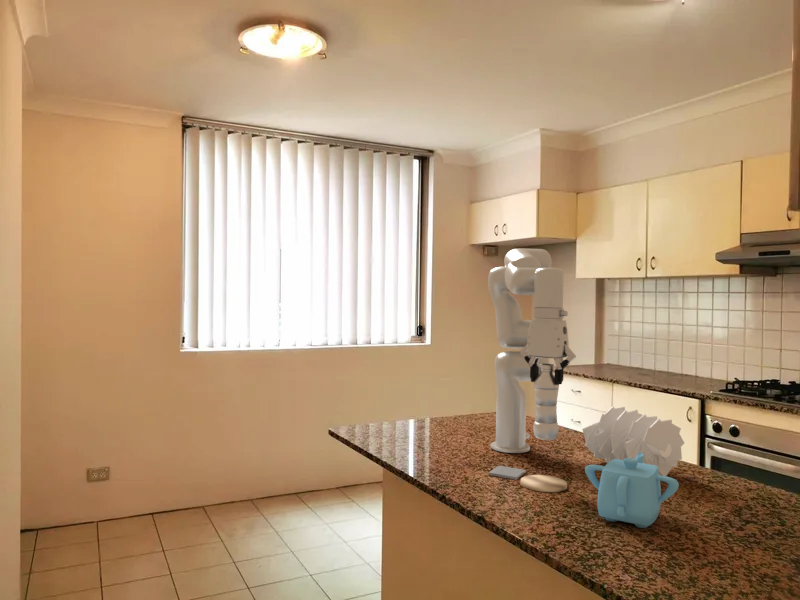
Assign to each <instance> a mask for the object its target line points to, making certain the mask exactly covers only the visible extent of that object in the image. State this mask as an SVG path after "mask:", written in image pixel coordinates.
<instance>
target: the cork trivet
mask: <svg viewBox="0 0 800 600" xmlns="http://www.w3.org/2000/svg"><path fill="white" fill-rule="evenodd" d="M520 485H521V486H522V487H524V488H525V489H528V490H531V491H535V492H541V493H542V492H543V493H559V492H560V493H561V492H564V491H566V490H567V489H568V482H567V481H566V480H565V479H562V478H559V477H556V476H551V475H543V474H528V475H525V476H523V477H522V476H521V477H520Z"/></svg>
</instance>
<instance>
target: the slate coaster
mask: <svg viewBox="0 0 800 600" xmlns="http://www.w3.org/2000/svg"><path fill="white" fill-rule="evenodd" d="M526 471H527V470H526V469H521V468H517V467H516V468H515V467H510V466H505V465H504V466H503V465H498V466H495V467H494V468H493V469H491V470H490V471H488V476H492V477H498V478H504V479H509V480H515V481H517V480H519V478H522V476H523V475H525V474H526V473H527V472H526Z"/></svg>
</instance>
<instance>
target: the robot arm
mask: <svg viewBox="0 0 800 600" xmlns="http://www.w3.org/2000/svg"><path fill="white" fill-rule="evenodd" d="M503 261H504V262H503V263H504V266H502V265H501V266H498V267H494V268H492V269H490V271H489V273H488V276H487V285H488V288H487V289H488V292H489V295H490V298H491V301H492V303H493V306H494V307H493V308H494V312H495V323H496V324H495V326H496V336H497V341H498V345H499V346H500V347H501V348H504V349H512V350H513V349H515V350H516V349H519V350H520V349H521V350H520V351H519V350H518V351H517V350H516V351H515V350H513V351H512V350H508V351H502V352H499V353H498V354H497V355H496V357H495V358H494V373H495V379H496V380H495V384H496V402H495V403H496V405H495V406H496V407H495V408H496V409H495V441H493V442H491V443H490V449H492V450H493V451H494V450H495V451H497V452H499V453H500V452H501V453H506V454H507V453H508V454H522V453H527V452H530V450H531V445H529V444H528V443H526V440H527V439H530V438H531V437H530V436H531V435H530V433H529V432H526V426H527V423H526V422H527V394H526V391H525V389H524V388H523V387H522V386H521V385H520V382H532V383H534V382H535V380H536V378H537V377H538V375H539V374H540V372H541V371H539V369H540V364H542V363H546V364H550V359H553V361H554V365H555V366H556V368H554V376H555V380H554V384H555V385H559V386H560V385H562V384H563V382H564V373H565V372H564V369H566V368H567V367H568V366H569V365H570V363H572V362H573V361H574V360H575V359H576V358H577V356H576V354H575V353H574V351H573V350H572V349H571V348H570V347H569V346H570V345H569V343H570V342H569V333H568V332H569V330H568V324H567V320H564V317H567V316H568V315H569V313H568V311H567V310H564V282H565V281H564V275H565V274H564V270H563V269H562V268H559V267H558V268H557V267H552V265H553V261H552V256H551V255H550V252H548V251H547V250H546V249H543V248H523V247H522V248H519V247H518V248H513V249H511V250H509V251H508V252H507V253H506V254H505V256H504V259H503ZM511 293H512V294H513V295H517V296H518V295H519V296H533V317H532V319H530V320H529V319H523V317H522V308H521V307H522V306H521V305H520V303H519V302H518V301H517V299H516V298H515V297H514V296H513V295H512V294H511ZM564 358H565V359H564Z"/></svg>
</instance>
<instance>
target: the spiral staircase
mask: <svg viewBox="0 0 800 600" xmlns="http://www.w3.org/2000/svg"><path fill="white" fill-rule="evenodd" d="M672 421H673V420H672V419H664V420H661V419H660V418H658V416H656V415H655V416H647V414H646V413H643V414H642V413H639V410H638V409H634V410H630V411H627V410H626V407H625V406H620V407H616V408H615V406H611V407H610V408H609V409H608V410H606V412H605V413H602V414H601V416H600V419H599V421H597V422H595V423H592V424H591V425H588V426H586V427H583V428H582V433H583V434H582V435H583V437H584V441H585V443H584V446H585V447H587V449H588V450H589V451H590V452H591V453H592V454H593V458H596V459H603V460H605V462H606V463H609V462H610V461H611V460H613V459H619V460H623V459H624V458H633V459H636V456H637V454H638V453H643V454H644V458H643V463H644V464H650V465H656V466H657V467H658V471H659V475H661V476H666V477H668V474H669V473H670V471H671V470H672V468H678V463H679V462H678V461H681V460H683V459H682V458H683V455H682V446H684V444H685V441H684V440H683V438H682V435H681V434H680V432H681V430H682V428H681V427H680V426H677V425H676V424H673V422H672Z"/></svg>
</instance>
